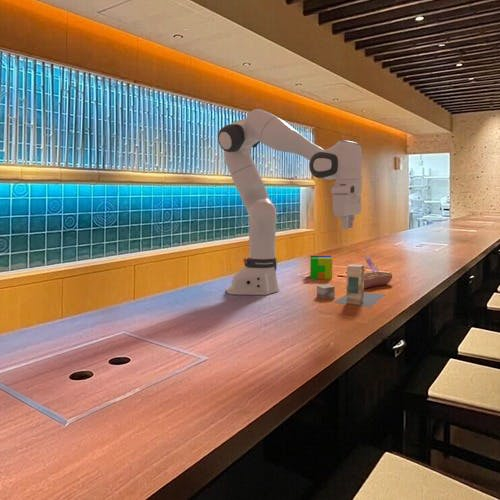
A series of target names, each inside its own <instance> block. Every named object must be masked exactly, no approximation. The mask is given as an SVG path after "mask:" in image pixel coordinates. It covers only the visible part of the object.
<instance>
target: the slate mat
mask: <svg viewBox="0 0 500 500" xmlns="http://www.w3.org/2000/svg"><path fill="white" fill-rule="evenodd" d="M385 296H386V294H384V293H383V294H382V293H375V292H373V293H372V292H364V301H363V302H362V303H361V304H352V303H346V300H347V293H346V294H345V295H344V296H341V297H340V298H338V299H336V300H334V302H333V303H334V304H343V305H353V306H359V307H360V306H361V307H370V308H371V307H372V306H374V305H375V304H376V303H377V302H379V301H380V300H381V299H383V298H384V297H385Z"/></svg>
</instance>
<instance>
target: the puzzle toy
mask: <svg viewBox="0 0 500 500" xmlns="http://www.w3.org/2000/svg"><path fill="white" fill-rule="evenodd" d="M309 270H310V272H309V273H310V275H309V276H310V280H333V257H332V255H310V268H309Z"/></svg>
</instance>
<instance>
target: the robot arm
mask: <svg viewBox="0 0 500 500" xmlns="http://www.w3.org/2000/svg"><path fill="white" fill-rule="evenodd" d="M217 141H218V144H219V147H220V148H221V149H222V150H223V151H224V154H223V155H224V160H225V163H226V165H227V169H228V172H229V174H230V176H231V179H232V181H233V183H234V185H235V187H236V189H237V192H238V194H239V196H240V199H241V201H242V203H243V205H244V208H245V210H246V212H247V214H248V216H249V219H248V221H249V225H248V227H249V228H248V229H249V230H248V231H249V232H248V235H249V236H248V245H249V246H248V251H249V253H248V257H243V259H242V262H243V263H244V267H243V268H241V269H240V270H238V272H236V273H235V274H234V275H233V277H232V279H231V285H229V286H227V287H226V293H228V294H229V295H244V296H245V295H247V296H251V295H253V296H254V295H255V296H267V295H269V294H274V293H277V292H279V291H280V287H279V283H278V277H277V267H278V266H277V264H278V262H277V257H276V232H277V208H276V206H275V204H274V203H273V202H272V201H271V199H270V196H269V194H268V191H267V188H266V186H265V184H264V181H263V179H262V176H261V175H260V172H259V170H258V167H257V165H256V163H255V161H254V159H253V157H252V155H251V150H252V148H254V149H255V148H257V146H258V145H259V144H260V143H262V144H263V145H264V146H266V147H268V148H269V149H273V150H275V151H279V152H283V153H289V154H295V155H299V156H300V157H303V158H304V159H306V160H308V161H309V162H308V163H309V165H308V167H309V173H310V174H312V176H313V177H314V178H317V179H321V180H331V181H335V183H334V185H333V186H332V187H331V189H330V190H331V191H330V193H331V194H332V214H333V215H334V217H340V219H341V220H340V221H341V223H342V226H341V227H342V230H347V229H351V228H354V221H355V217H356V215H360V214H361V213H362V195H361V194H362V184H363V183H362V181H363V180H362V173H361V172H362V168H363V156H362V155H363V153H362V147H361V144H360V143H358V142H356V141H350V140H338V141H337V142H336V143H335V144H334V145H332V146H331V147H329V148H327V149H326V148H325V149H324V147H321V146H320V145H317V144H316V143H314V142H313V141H311V140H309V139H308V138H306V137H305V136H304V135H302V134H301V133H300V132H298V131H297V130H296V129H295V128H294V127H292V126H291V125H290V124H289V123H287V122H286V121H284V120H283V119H281V118H280V117H278V116H277V115H275V114H273V113H272V112H268V111H266V110H264V109H259V108H256V109H253V110H251V111H250V112H248V114H247V116H246V117H245V118H242V119H238V120H236V121H234V122H231V123H230V124H229V123H228V124H226V125H224V126H223V127H222V128H220V130H219V131H218V133H217Z"/></svg>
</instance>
